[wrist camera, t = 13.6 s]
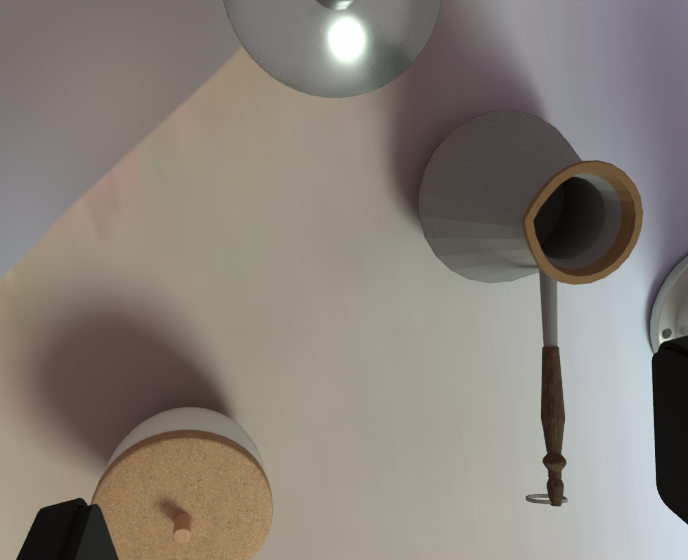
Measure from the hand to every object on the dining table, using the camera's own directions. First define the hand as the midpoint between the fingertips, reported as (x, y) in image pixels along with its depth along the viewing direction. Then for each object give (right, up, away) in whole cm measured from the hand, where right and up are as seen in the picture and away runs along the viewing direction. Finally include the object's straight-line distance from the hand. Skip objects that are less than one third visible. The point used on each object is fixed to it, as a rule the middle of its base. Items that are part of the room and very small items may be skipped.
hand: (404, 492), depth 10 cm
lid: (-2, +20, +23) cm, 30 cm away
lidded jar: (-12, -9, +34) cm, 37 cm away
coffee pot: (+8, +5, +35) cm, 36 cm away
